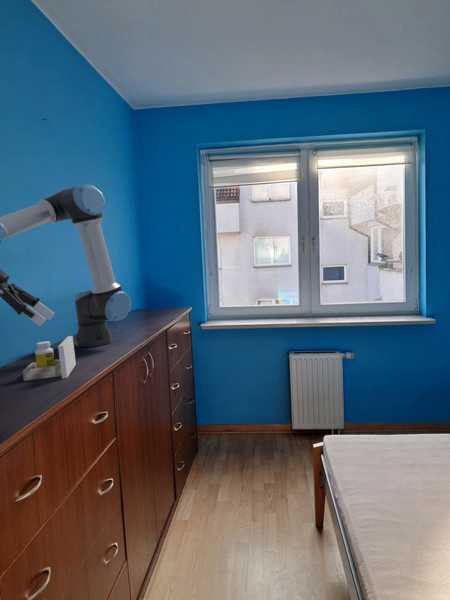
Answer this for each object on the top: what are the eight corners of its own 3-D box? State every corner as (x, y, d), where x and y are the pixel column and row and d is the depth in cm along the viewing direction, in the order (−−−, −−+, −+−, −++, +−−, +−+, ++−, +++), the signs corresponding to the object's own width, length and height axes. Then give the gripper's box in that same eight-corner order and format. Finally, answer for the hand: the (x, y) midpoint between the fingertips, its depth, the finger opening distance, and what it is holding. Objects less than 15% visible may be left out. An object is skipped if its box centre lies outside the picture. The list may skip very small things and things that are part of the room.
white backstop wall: (62, 378, 131) (58, 346, 130) (71, 364, 148) (67, 336, 147) (67, 377, 131) (63, 345, 130) (75, 364, 149) (72, 335, 148)
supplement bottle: (49, 374, 135) (45, 344, 134) (34, 374, 136) (30, 344, 135) (59, 369, 140) (55, 340, 139) (44, 370, 142) (40, 340, 141)
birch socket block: (23, 380, 132) (22, 371, 132) (32, 371, 143) (31, 362, 143) (62, 375, 134) (61, 366, 134) (68, 367, 145) (67, 358, 145)
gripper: (-5, 284, 145) (48, 322, 149) (-34, 289, 120) (30, 335, 125) (10, 267, 145) (62, 306, 149) (-16, 269, 121) (47, 315, 125)
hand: (48, 319), depth 137 cm, fingers open, 13 cm apart
